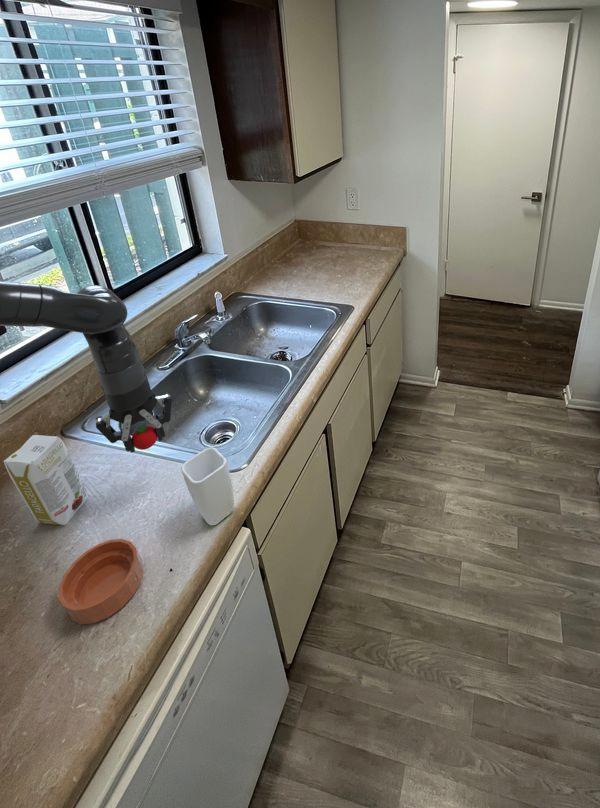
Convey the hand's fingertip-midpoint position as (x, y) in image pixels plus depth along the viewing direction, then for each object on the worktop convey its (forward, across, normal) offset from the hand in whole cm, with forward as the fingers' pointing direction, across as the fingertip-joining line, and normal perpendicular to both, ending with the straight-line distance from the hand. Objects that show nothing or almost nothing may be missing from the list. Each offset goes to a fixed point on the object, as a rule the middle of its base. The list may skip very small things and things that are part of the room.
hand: (146, 443), depth 93 cm
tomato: (+1, 0, 0) cm, 1 cm away
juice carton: (+16, +19, -8) cm, 26 cm away
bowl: (+16, +12, +16) cm, 25 cm away
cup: (+16, -9, +12) cm, 22 cm away
